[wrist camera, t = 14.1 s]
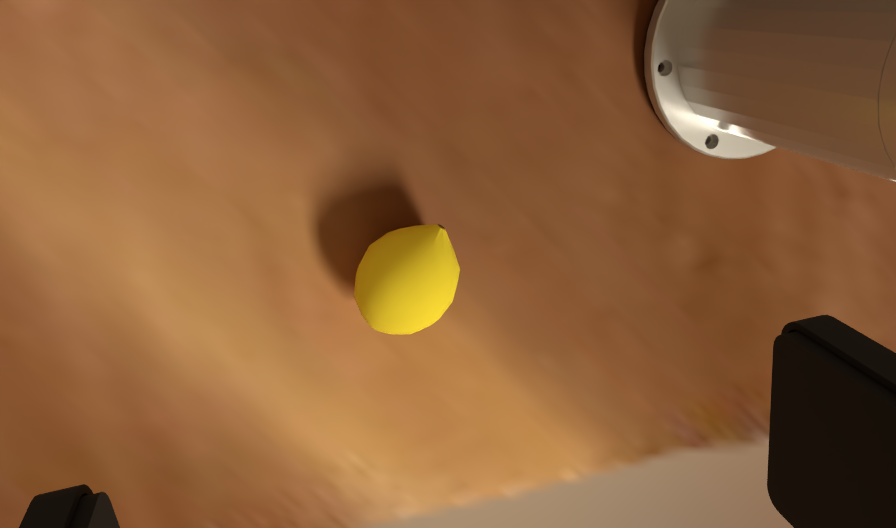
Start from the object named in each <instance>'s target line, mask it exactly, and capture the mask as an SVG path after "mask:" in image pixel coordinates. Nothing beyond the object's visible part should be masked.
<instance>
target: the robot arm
mask: <svg viewBox="0 0 896 528" xmlns="http://www.w3.org/2000/svg"><path fill="white" fill-rule="evenodd" d="M659 64H660V69H659V70H658V65H659ZM644 74H645V80H646V85H647V90H648V95H649V98H650V100H651V103H652V105H653V108H654V110H655V113H656V114H657V116H658V117H659V119H660V120H661V122H662V123H663V125H664V126H665V128H666V129H667V130H668V131H669V132H670V133H671V134H672V135H673V136H674V137H675V138H676V139H677V140H678V141H679V142H681V143H683V144H684V145H686V146H688V147H689V148H691V149H693V150H695V151H698V152H700V153H703V154H706V155H708V156H713V157H718V158H723V159H744V158H749V157H753V156H757V155H761V154H764V153H766V152H768V151H770V150H773V149H775V148H777V147H778V148H781V149H785V150H788V151H792V152H795V153H798V154H802V155H805V156H809V157H812V158H816V159H819V160H822V161H826V162H829V163H833V164H836V165H840V166H843V167H846V168H850V169H853V170H857V171H860V172H863V173H867V174H870V175H874V176H877V177H881V178H884V179H887V180H891V181H894V182H896V0H659V1H658V3H657V5H656V7H655V9H654V12H653V15H652V18H651V21H650V25H649V28H648V31H647V37H646V44H645V51H644ZM767 480H768V481H767V487H768V493H769V496H770V499H771V501H772V503H773V505H774V506H775V508H776V509H777V510H778V511H779V513H780V514H781V515H782V516H783V517H784V518H785V519H786V520H787V521H788V522H789V523H790V524H791V525H792V526H793V527H794V528H896V353H894V352H893V351H891V350H889V349H887V348H886V347H884V346H882V345H881V344H879V343H877V342H875V341H874V340H872V339H870V338H868V337H867V336H865V335H863V334H862V333H860V332H858V331H856V330H855V329H853V328H851V327H849V326H848V325H846V324H844V323H842V322H841V321H839V320H837V319H836V318H834V317H831V316H829V315H821V316H816V317H812V318H808V319H803V320H799V321H794V322H790V323H788V324H787V325H785V326H784V328H783V330H782V333H781V335H779V336H778V337H776V339H775V341H774V346H773V366H772V388H771V411H770V434H769V457H768V479H767ZM19 528H120V526H119V524H118V521H117V518H116V515H115V512H114V510H113V507H112V504H111V501H110V499H109V497H108V495H107V494H106V493H104V492H100V493H96V494H93V492H92V490H91V489H90V488H89V487H88V486H87V485H84V484H83V485H79V486H74V487H70V488H66V489H61V490H57V491H53V492H48V493H44V494H39V495H37V496H35V497H34V498H33V500H32V501H31V503H30V505H29V507H28V509H27V512H26V514H25V516H24V518H23V520H22V522H21V524H20V527H19Z"/></svg>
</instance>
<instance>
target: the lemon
mask: <svg viewBox="0 0 896 528" xmlns="http://www.w3.org/2000/svg"><path fill="white" fill-rule="evenodd" d="M459 272H460V268H459V265H458V262H457V259H456V256H455V252H454V250H453V247H452V245H451V242H450V240H449V238H448V235H447V233H446V230H445V228H444V227H443V226H441V225H439V224H436V225H418V226H412V227H406V228H400V229H397V230H394V231H391V232H388V233H386V234H385V235H384V236H382V237H381V238H379V239H378V240H376V241H375V242H374V243H372V244H371V245H369V247H368V249H367V251H366V253H365V255H364V256H363V258H362V260H361V262H360V264H359V266H358V269H357V273H356V277H355V295H354V297H355V300H356V302H357V305H358V307H359V309H360V312H361V314H362V316H363V317H364V319H365V320H366V321H367V323H368V324H369V325H370V326H371V327H372V328H373V329H375V330H377V331H380V332H384V333H388V334H412V333H415V332H417V331H420V330H421V329H423V328H426V327H428V326H430V325H432V324H433V323H434V322H436V321H437V320H438V319H439V318H440V317H441V316H442V314H443V313H444V312H445V311H446V309H447V308H448V307H449V305H450V304H451V303H452V301H453V298H454V294H455V290H456V286H457V282H458V278H459Z"/></svg>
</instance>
